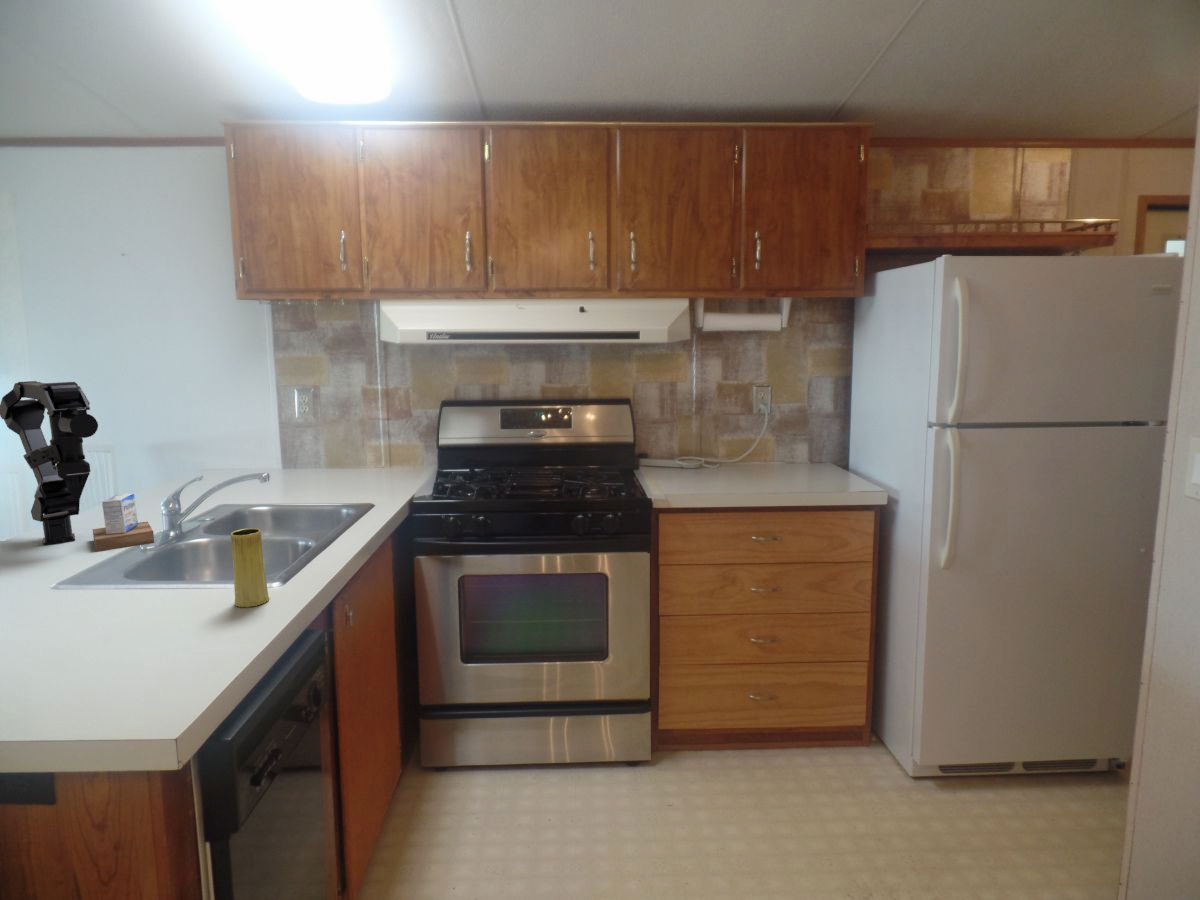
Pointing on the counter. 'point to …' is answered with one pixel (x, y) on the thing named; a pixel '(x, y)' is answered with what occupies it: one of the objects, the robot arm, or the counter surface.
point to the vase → (248, 568)
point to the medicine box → (120, 513)
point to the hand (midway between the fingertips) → (74, 497)
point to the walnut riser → (123, 537)
